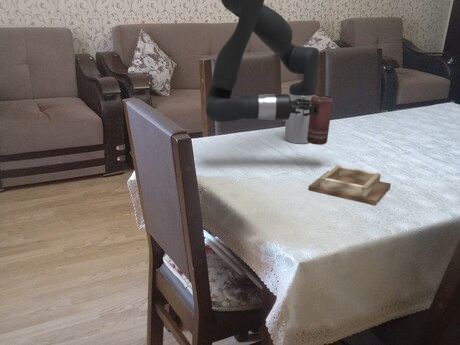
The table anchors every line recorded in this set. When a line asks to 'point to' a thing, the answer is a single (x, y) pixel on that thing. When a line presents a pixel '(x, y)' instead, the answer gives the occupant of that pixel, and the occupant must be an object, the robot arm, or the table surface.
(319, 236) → the table surface
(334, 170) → the tray
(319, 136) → the can
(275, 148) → the table surface
